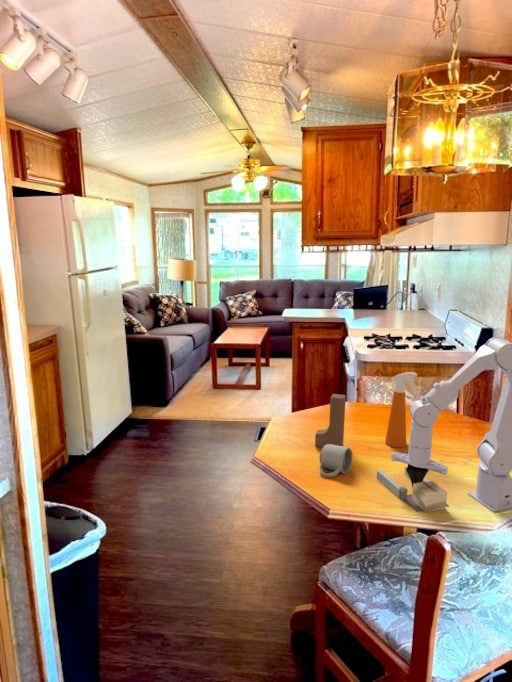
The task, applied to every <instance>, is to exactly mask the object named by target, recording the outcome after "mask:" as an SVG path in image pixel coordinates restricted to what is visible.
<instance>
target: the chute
mask: <svg viewBox="0 0 512 682" xmlns="http://www.w3.org/2000/svg"><path fill="white" fill-rule="evenodd" d="M407 467H408V465H407V466H405V467H404V475H405V476H407V477H408V478H409V479H410V477H409V475H408V473H407V471H406V468H407ZM376 479H377V480H378V481H379V482H380V483H382V484H383V485H384V486H385V488H387V489H388V490H389V491H390V492H392V493H393V494H394V495H395V496H396V497H397V498H398V499H400V500H401V501H404V500H406V499H407V495H408V488H407V487H406V486H402V485H400V484H399V483H398V482H397V481H395V480H394V479H393V478H392V477H390V476H389V475H388V474H387V473H386V472H384V471H383V470H382V469H379V470H376ZM427 481H430V480H429V479H427V478H426V476H425V477H424V479H423V481H422V482H427Z"/></svg>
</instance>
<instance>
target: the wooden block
mask: <svg viewBox="0 0 512 682" xmlns="http://www.w3.org/2000/svg"><path fill="white" fill-rule="evenodd" d="M346 397H347V396H346V395H345V394H337V393H332V394H331V397H330V398H329V399H330V401H329V402H330V403H329V421H328V423H329V425H328V427H327V428H326V429H318V430H317V431H316V432H315V436H314V437H315V438H314V440H315V441H314V442H315V444H314V446H315V447H318V448H323V446H324V445H327V444H332V445H337V446H343V447H344V439H345V438H344V437H345V436H344V433H345V414H346Z"/></svg>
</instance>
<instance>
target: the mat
mask: <svg viewBox="0 0 512 682" xmlns="http://www.w3.org/2000/svg"><path fill="white" fill-rule="evenodd" d="M412 494H413V493H410V494H407V499H406V500H403V502H404V503H406V504H407V505H408V506H409V507H411V508H412V509H413V510H414V511H415V512H417V513H418V512H423V510H422V509H421V508H420V507H419V506H418V505H416V504H415V503H414V502H413V501H412ZM446 507H447V508H449V507H450V505H449V504H448V503H446Z"/></svg>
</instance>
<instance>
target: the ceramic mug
mask: <svg viewBox="0 0 512 682" xmlns="http://www.w3.org/2000/svg"><path fill="white" fill-rule="evenodd" d="M352 451H353V450H352V449H351V447H349V446H344V445H343V446H337V445H332V444H327V445H324V446H323V447H321V450H320V453H319V464H320V465H319V473H320V474H321V475H322V476H323V477H325V478H333V477H336V476H337V475H338V474H339V473H342V474H346V473H348V472H349V471H350V469H351V465H352V461H353V452H352ZM323 467H324V468H326V469H329V470H331V471H332V472H330V473H329V472H328V473H326V472H324V471H323V470H322V469H323Z"/></svg>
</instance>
